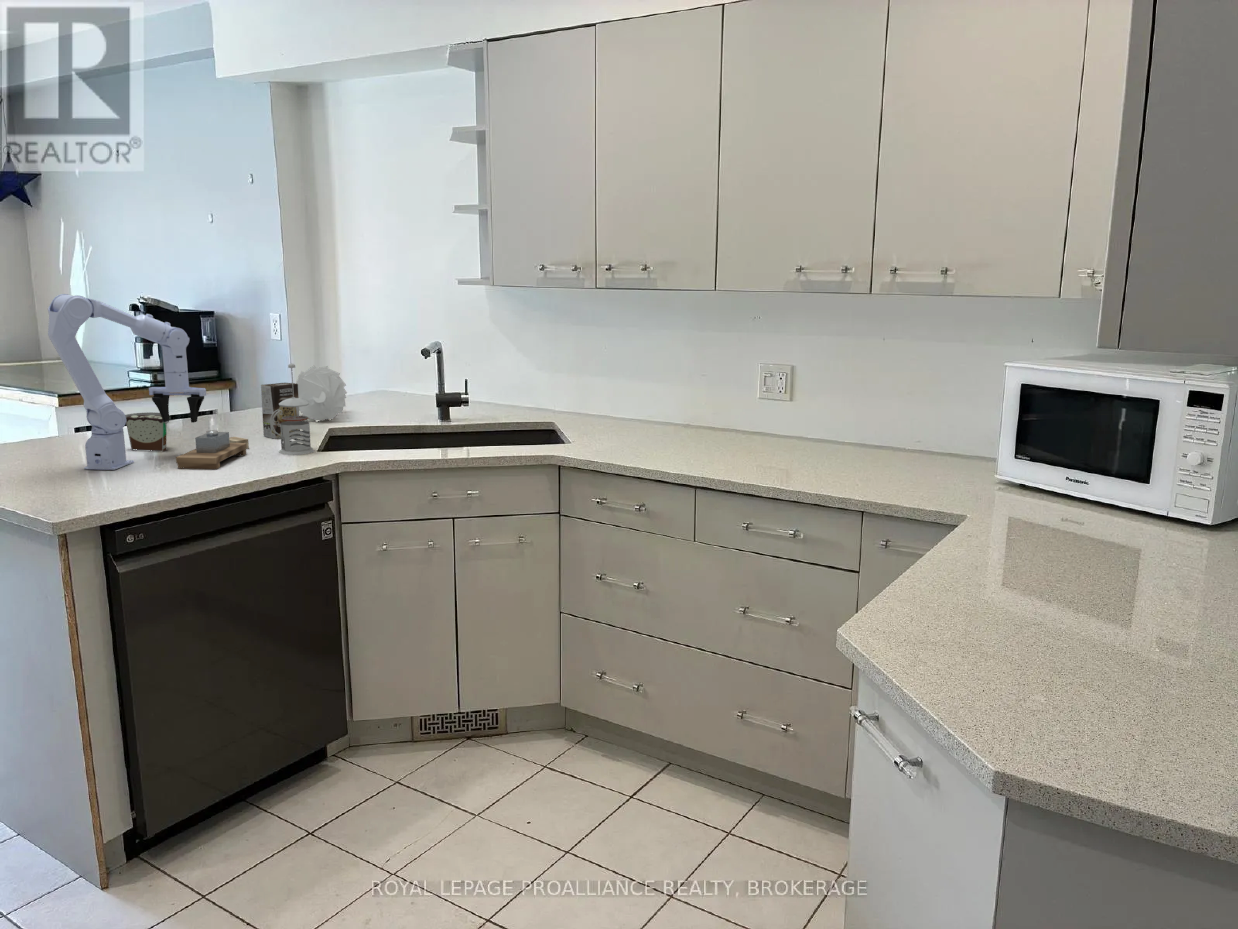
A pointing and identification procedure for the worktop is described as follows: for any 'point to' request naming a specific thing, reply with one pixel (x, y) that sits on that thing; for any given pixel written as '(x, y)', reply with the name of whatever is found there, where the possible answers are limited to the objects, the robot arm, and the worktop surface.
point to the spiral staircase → (321, 393)
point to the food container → (147, 431)
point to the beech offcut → (239, 440)
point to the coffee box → (277, 406)
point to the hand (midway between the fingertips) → (180, 421)
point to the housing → (212, 442)
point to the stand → (209, 457)
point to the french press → (294, 428)
